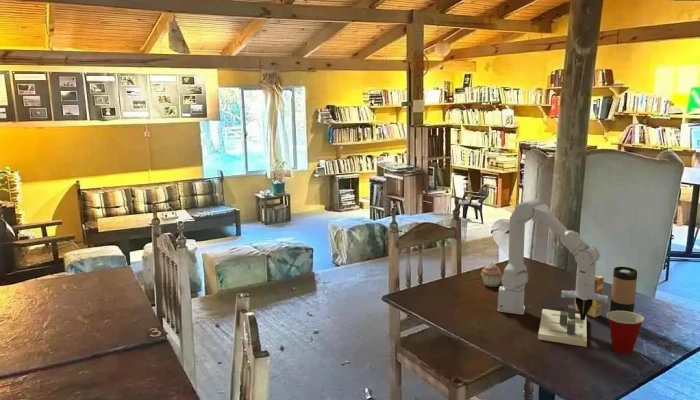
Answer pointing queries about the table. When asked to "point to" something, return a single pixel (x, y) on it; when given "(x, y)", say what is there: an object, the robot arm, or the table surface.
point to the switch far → (571, 311)
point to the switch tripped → (563, 317)
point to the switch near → (571, 327)
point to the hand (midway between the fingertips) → (582, 318)
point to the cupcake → (491, 275)
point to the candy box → (597, 305)
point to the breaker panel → (562, 329)
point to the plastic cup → (624, 330)
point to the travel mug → (623, 289)
